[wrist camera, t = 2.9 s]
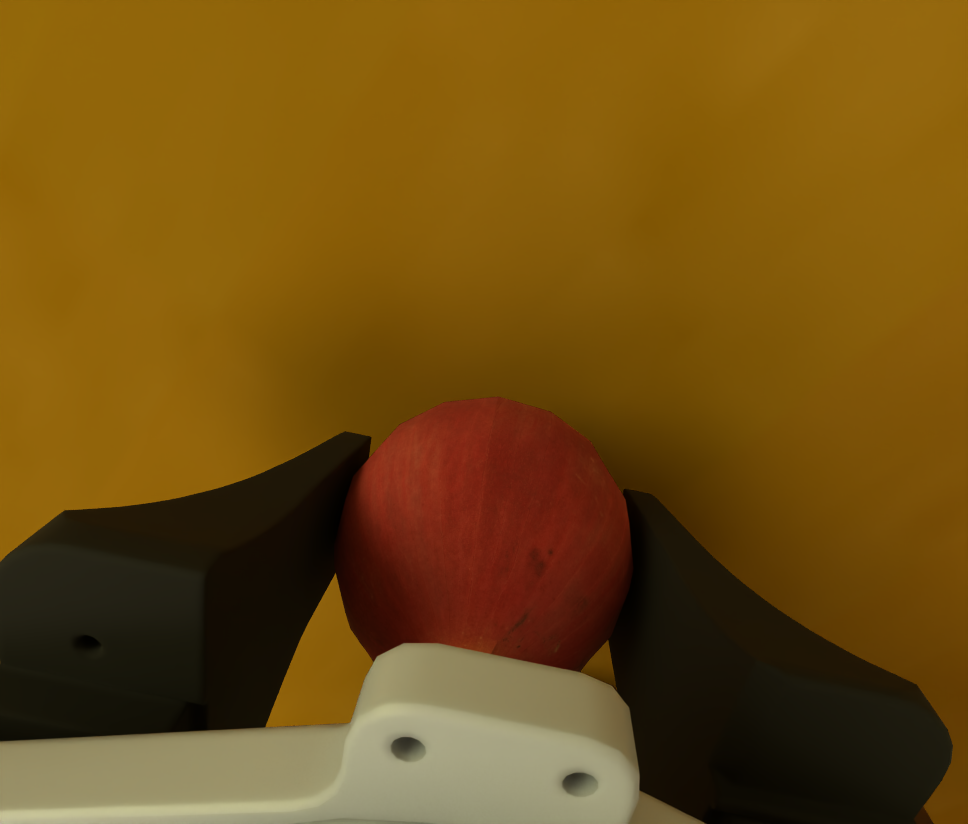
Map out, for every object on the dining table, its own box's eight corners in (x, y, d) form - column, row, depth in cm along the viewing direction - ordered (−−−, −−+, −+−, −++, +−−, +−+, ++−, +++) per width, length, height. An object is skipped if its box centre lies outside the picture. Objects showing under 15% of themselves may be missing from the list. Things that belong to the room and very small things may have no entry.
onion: (649, 503, 16) (739, 804, 9) (456, 582, 18) (399, 896, 10) (544, 307, 14) (550, 482, 7) (340, 413, 16) (170, 649, 9)
